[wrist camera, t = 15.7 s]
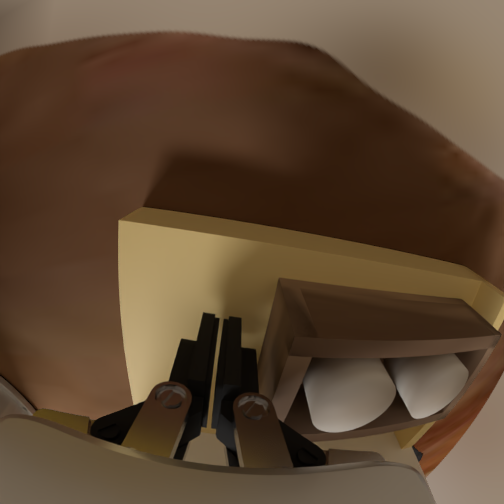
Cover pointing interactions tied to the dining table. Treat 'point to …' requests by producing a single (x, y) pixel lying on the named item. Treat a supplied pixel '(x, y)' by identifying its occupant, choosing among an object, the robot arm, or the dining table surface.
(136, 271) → the counter shelf
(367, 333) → the caddy
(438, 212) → the dining table surface
